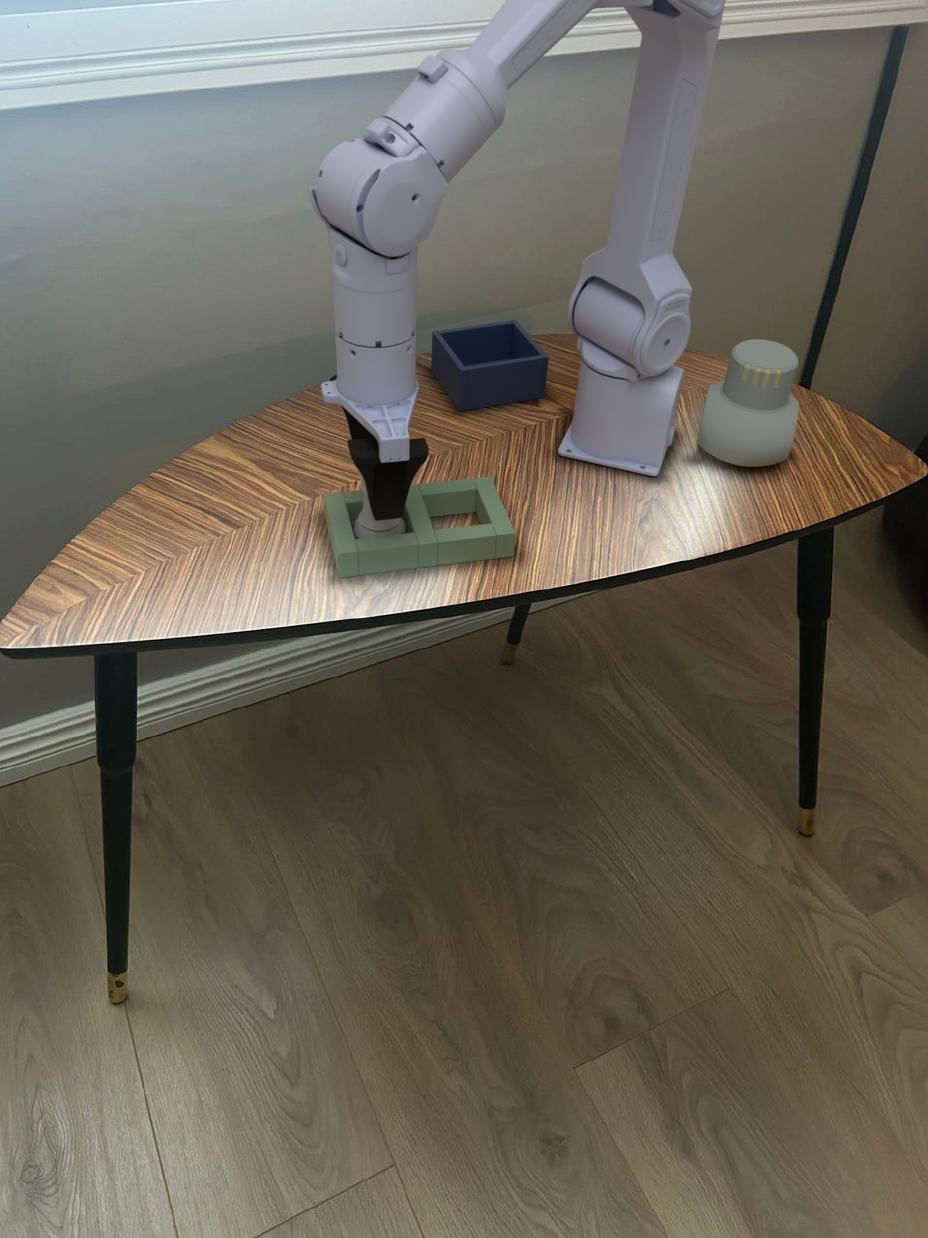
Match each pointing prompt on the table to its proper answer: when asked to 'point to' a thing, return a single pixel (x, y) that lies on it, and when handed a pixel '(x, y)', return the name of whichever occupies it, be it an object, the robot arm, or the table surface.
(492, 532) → the frame
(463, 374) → the bin
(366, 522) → the rook chess piece
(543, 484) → the table surface
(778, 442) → the air freshener
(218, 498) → the table surface
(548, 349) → the table surface
